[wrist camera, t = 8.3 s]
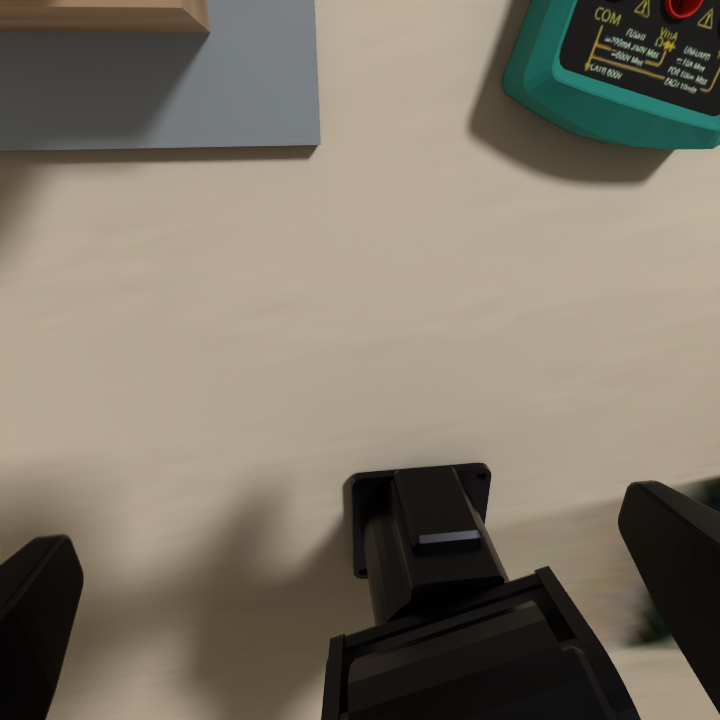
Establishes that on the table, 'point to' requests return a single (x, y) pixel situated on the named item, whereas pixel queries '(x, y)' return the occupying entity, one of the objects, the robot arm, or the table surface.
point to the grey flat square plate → (166, 84)
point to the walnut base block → (105, 16)
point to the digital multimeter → (622, 70)
